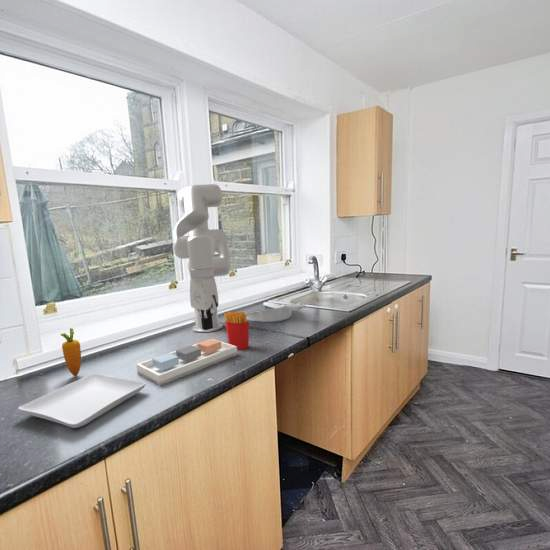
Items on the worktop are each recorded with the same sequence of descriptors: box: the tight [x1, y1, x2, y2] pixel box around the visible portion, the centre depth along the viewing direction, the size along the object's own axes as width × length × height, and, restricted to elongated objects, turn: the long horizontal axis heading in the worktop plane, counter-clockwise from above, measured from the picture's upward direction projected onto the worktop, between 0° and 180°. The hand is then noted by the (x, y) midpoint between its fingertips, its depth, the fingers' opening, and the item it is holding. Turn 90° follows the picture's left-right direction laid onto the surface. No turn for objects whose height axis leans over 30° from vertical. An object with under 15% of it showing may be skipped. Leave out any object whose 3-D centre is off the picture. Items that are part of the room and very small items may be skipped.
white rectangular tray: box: [136, 338, 238, 387], centre depth 111 cm, size 14×28×3 cm, turn 136°
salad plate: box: [17, 373, 147, 429], centre depth 88 cm, size 21×21×3 cm
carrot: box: [60, 328, 82, 377], centre depth 106 cm, size 5×5×15 cm
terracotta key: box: [196, 338, 222, 354], centre depth 116 cm, size 6×6×2 cm
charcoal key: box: [175, 345, 201, 362], centre depth 111 cm, size 6×6×2 cm
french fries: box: [223, 311, 250, 351], centre depth 123 cm, size 9×4×13 cm, turn 61°
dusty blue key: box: [151, 352, 179, 370], centre depth 105 cm, size 6×6×2 cm
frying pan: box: [245, 301, 307, 323], centre depth 156 cm, size 23×33×10 cm
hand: (207, 328), depth 115 cm, fingers closed
